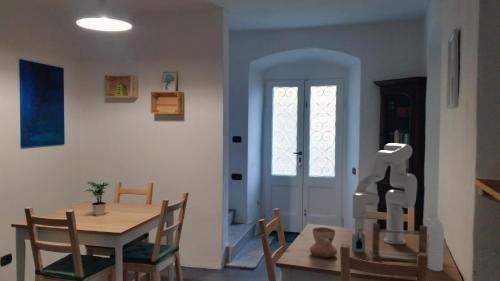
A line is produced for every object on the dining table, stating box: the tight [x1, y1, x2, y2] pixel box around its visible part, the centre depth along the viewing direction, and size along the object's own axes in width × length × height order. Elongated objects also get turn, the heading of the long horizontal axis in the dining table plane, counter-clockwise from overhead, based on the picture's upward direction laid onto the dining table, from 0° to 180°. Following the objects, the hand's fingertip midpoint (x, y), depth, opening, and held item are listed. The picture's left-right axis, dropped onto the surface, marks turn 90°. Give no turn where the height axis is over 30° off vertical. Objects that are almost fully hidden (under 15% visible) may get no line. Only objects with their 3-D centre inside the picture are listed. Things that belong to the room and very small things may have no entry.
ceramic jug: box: [309, 226, 338, 259], centre depth 217 cm, size 18×14×14 cm
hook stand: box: [369, 222, 428, 263], centre depth 215 cm, size 12×28×18 cm, turn 82°
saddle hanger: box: [351, 230, 366, 253], centre depth 227 cm, size 6×6×10 cm
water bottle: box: [425, 217, 445, 272], centre depth 198 cm, size 9×6×25 cm
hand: (358, 246), depth 227 cm, fingers closed on saddle hanger, 6 cm apart
